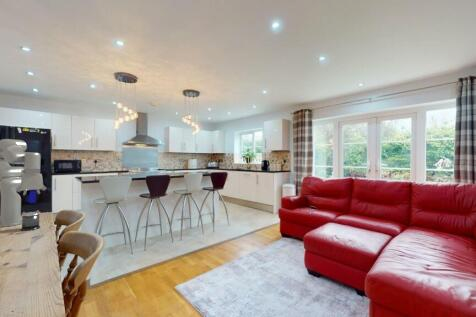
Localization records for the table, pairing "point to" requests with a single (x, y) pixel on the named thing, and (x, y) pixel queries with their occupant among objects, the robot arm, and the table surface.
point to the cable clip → (31, 197)
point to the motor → (30, 221)
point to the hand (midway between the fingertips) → (31, 200)
